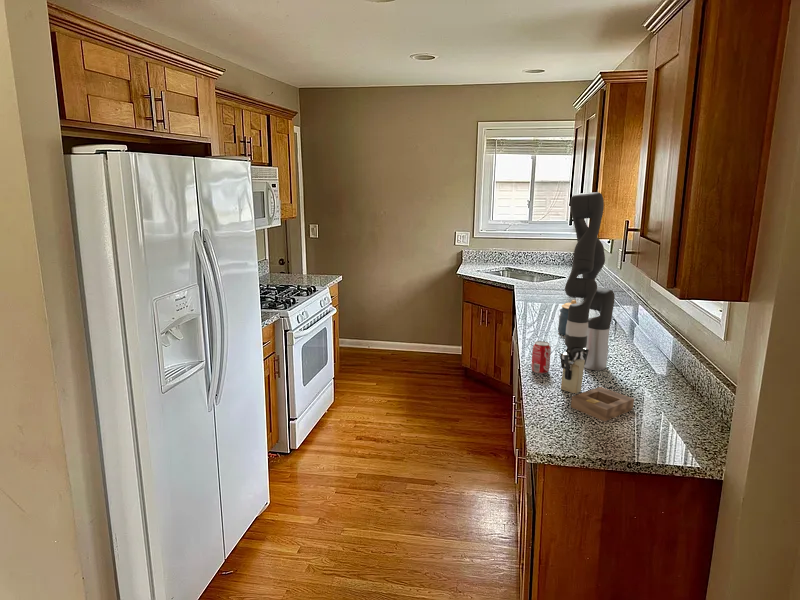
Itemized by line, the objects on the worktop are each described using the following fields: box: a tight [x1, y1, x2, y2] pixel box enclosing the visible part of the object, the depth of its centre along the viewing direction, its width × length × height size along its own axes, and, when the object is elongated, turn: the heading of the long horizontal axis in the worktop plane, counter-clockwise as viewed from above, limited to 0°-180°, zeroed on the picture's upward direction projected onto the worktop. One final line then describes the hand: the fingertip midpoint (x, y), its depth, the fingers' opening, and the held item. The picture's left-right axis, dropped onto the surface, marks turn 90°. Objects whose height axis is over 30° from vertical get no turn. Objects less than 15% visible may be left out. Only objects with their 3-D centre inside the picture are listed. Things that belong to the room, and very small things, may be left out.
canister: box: [557, 299, 577, 336], centre depth 270 cm, size 13×13×18 cm
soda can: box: [531, 340, 552, 375], centre depth 214 cm, size 7×7×12 cm
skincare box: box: [560, 359, 585, 395], centre depth 195 cm, size 6×4×12 cm
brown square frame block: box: [570, 386, 635, 422], centre depth 180 cm, size 16×13×4 cm
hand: (572, 377), depth 195 cm, fingers closed on skincare box, 4 cm apart
